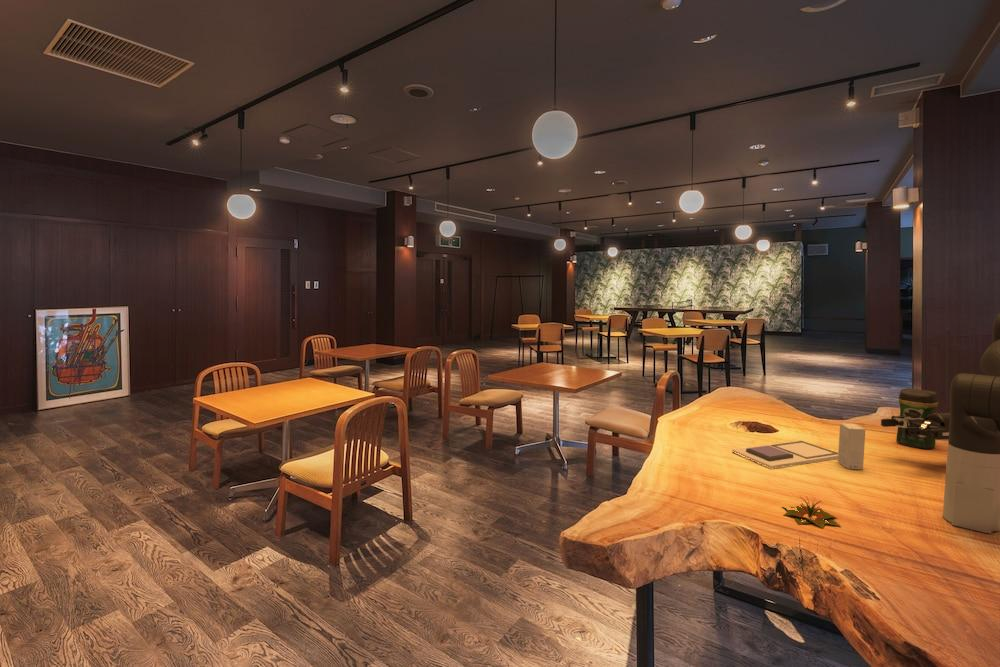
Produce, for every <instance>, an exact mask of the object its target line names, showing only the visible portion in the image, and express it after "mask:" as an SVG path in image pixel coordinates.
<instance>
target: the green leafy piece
mask: <svg viewBox="0 0 1000 667" xmlns="http://www.w3.org/2000/svg"><path fill="white" fill-rule="evenodd" d="M806 498H807V501H808V502H807V501H806V499H804V498H803V497H801V496H800V499H801V500H802V501H804V503H806V506H805V504H804V503H802V502H801V504H799V506H801V507H802V508H801V507H799V506H798V505H796V507H793V506H790V507H791V508H797V510H798V511H799V512H798V511H795V510H787V509H785V510H786V512H785V514H783V516H794V517H795V521H796V523H797V525H802V524H812V523H813V524H815V525H816V526H818V527H820V528H821V529H822V530H823V529H824V527H825V526H824V525H831V526H838V527H841V528H842V526H841V525H840V524H839V523H838V522H836V520H833V519H831V518H838V517H837V516H835V515H833V514H830V513H828V512H827V511H825V510H823V508H821V506H817V507H816V505H817V504H819V503H822V502H823V501H822V500H819V501H818V502H815V503H814V502H812V504H811V505H810V501H809V499H808V497H806ZM815 500H816V497H815V498H814V499H813V501H815ZM818 510H820V512H817V511H818ZM806 515H807V516H808V517H809V518H808V517H806ZM815 516H816V518H814V519H815V520H814V519H812V517H815ZM801 518H802V520H803V518H804V519H806V520H807V521H804V520H803V522H801V521H802V520H801ZM823 519H824V520H823ZM825 520H827V521H828V522H829V523H827V522H826V521H825ZM808 521H809V522H808ZM825 522H826V523H825ZM830 523H831V524H830Z"/></svg>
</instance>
